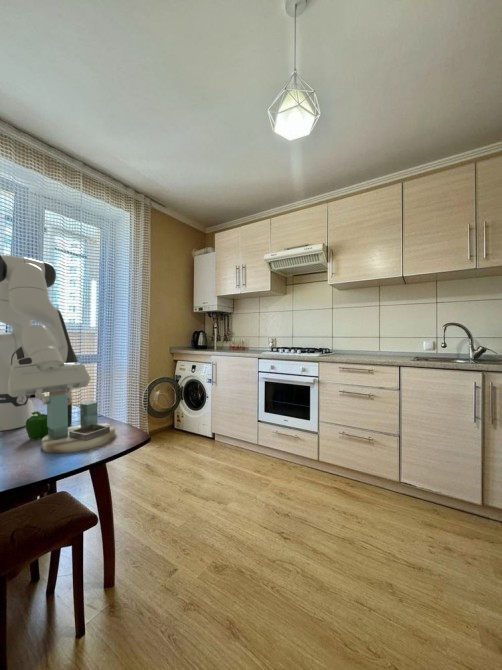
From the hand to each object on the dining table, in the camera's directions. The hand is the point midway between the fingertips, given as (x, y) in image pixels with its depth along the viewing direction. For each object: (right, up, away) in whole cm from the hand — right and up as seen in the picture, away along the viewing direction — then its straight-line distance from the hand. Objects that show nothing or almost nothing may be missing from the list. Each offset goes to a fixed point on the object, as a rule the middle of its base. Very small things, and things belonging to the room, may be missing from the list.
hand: (57, 401), depth 81 cm
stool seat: (-4, -18, +17) cm, 25 cm away
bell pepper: (-21, -18, +21) cm, 35 cm away
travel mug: (-22, -18, +34) cm, 44 cm away
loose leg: (0, -7, 0) cm, 7 cm away
